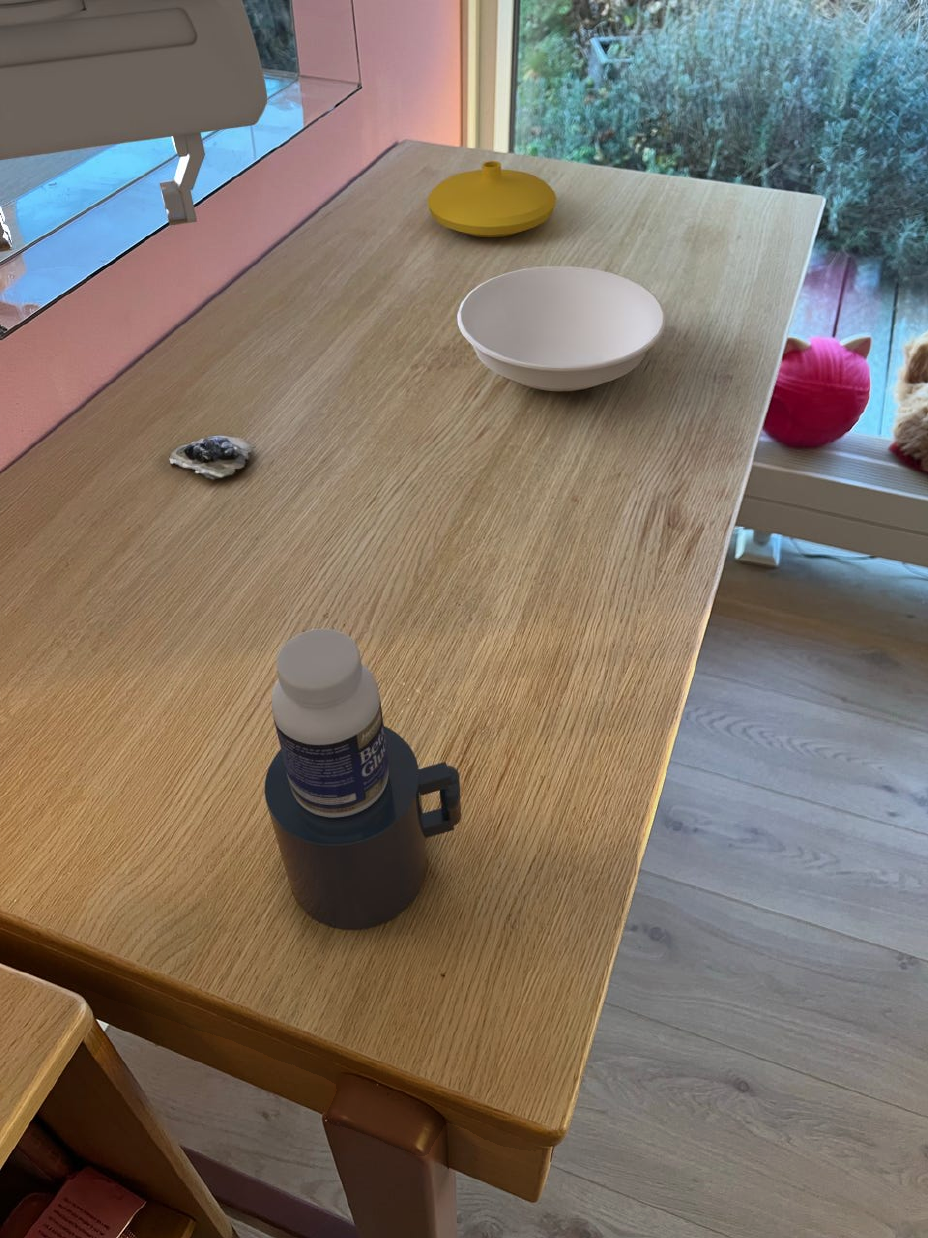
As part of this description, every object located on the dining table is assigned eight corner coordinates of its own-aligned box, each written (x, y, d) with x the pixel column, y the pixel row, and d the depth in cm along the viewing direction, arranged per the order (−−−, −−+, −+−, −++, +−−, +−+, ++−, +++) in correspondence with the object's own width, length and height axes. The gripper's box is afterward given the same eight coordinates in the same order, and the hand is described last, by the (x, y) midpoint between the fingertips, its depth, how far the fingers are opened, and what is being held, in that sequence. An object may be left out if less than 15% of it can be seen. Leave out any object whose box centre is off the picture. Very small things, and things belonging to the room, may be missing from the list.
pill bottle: (386, 821, 52) (369, 700, 46) (284, 821, 53) (251, 701, 46) (393, 739, 56) (378, 616, 49) (298, 739, 56) (269, 617, 49)
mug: (304, 948, 57) (279, 865, 51) (277, 829, 63) (252, 740, 56) (483, 894, 59) (481, 807, 53) (442, 783, 65) (435, 692, 59)
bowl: (558, 455, 90) (561, 393, 85) (418, 369, 101) (414, 311, 96) (701, 373, 99) (710, 314, 94) (558, 303, 109) (560, 246, 105)
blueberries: (238, 487, 88) (234, 469, 86) (153, 477, 89) (148, 460, 88) (264, 442, 92) (261, 425, 91) (183, 434, 94) (178, 417, 92)
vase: (571, 242, 120) (574, 182, 115) (442, 258, 118) (439, 198, 113) (536, 190, 131) (538, 134, 126) (418, 204, 129) (414, 147, 124)
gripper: (-287, -43, 38) (-127, 294, 48) (243, -93, 42) (292, 228, 52) (-257, -76, 43) (-115, 240, 52) (222, -119, 47) (271, 182, 56)
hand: (91, 233), depth 52 cm, fingers open, 8 cm apart
